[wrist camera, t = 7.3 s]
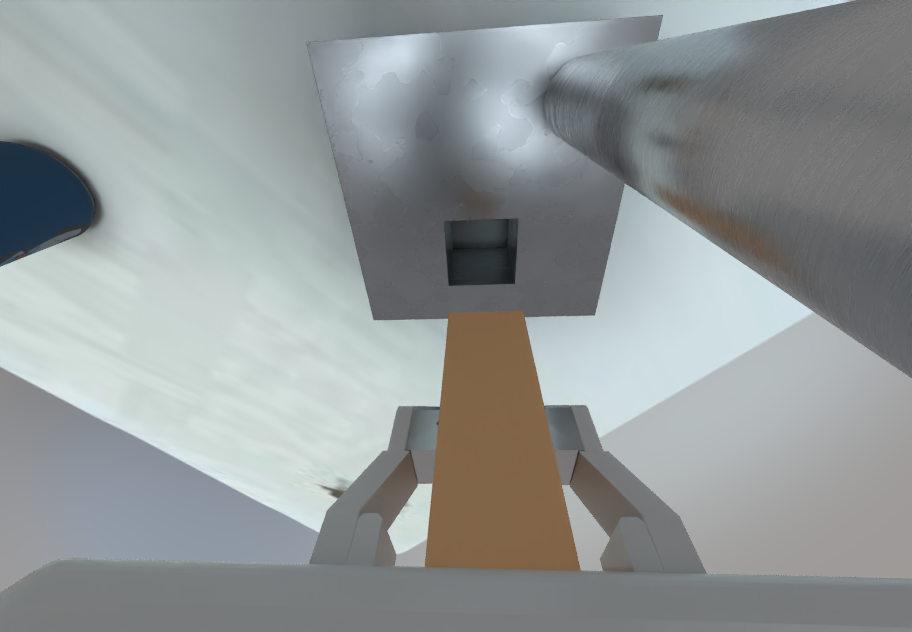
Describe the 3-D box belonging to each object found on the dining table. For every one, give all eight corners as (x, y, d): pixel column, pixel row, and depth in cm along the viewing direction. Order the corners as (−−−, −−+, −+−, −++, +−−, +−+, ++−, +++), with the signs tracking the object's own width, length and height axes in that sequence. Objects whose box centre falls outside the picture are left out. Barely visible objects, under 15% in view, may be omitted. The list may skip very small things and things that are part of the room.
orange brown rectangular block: (453, 365, 15) (433, 685, 7) (449, 312, 14) (416, 654, 6) (519, 364, 15) (572, 692, 7) (522, 310, 14) (601, 662, 5)
